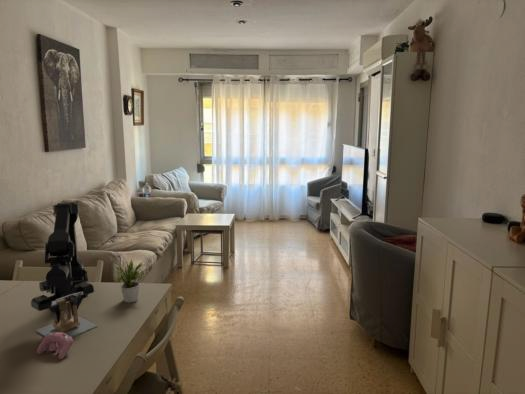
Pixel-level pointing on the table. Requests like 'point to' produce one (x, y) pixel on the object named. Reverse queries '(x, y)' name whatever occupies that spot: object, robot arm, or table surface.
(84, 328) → the mat
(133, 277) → the house plant
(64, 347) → the video game controller
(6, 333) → the table surface
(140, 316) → the table surface
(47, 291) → the robot arm
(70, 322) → the stool
